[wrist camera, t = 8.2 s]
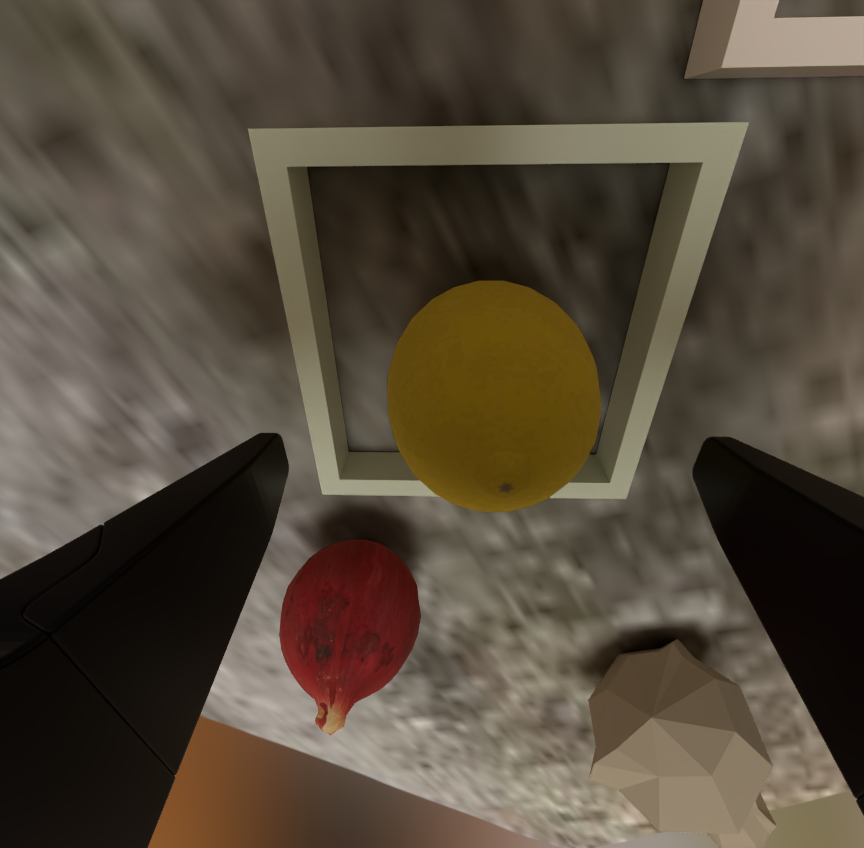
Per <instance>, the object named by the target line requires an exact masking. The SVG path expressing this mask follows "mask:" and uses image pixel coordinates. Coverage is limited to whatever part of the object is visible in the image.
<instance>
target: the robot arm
mask: <svg viewBox="0 0 864 848" xmlns="http://www.w3.org/2000/svg"><path fill="white" fill-rule="evenodd" d="M288 472H289V464H288V459H287V455H286V451H285V447H284V443H283V440H282V437H281V435H279V434H278V433H259V434H257V435H255V436H254V437H252V438H250V439H249V440H247V441H245V442H243V443H242V444H240V445H238V446H236V447H235V448H233V449H231V450H229V451H228V452H226V453H224V454H222V455H221V456H219V457H217V458H216V459H214V460H212V461H210V462H209V463H207V464H205V465H203V466H202V467H200V468H198V469H196V470H195V471H193V472H191V473H189V474H188V475H186V476H184V477H182V478H181V479H179V480H177V481H176V482H174V483H172V484H170V485H169V486H167V487H165V488H163V489H162V490H160V491H158V492H156V493H155V494H153V495H151V496H149V497H148V498H146V499H144V500H142V501H141V502H139V503H137V504H136V505H134V506H132V507H130V508H129V509H127V510H125V511H123V512H122V513H120V514H118V515H116V516H115V517H113V518H111V519H109V520H108V521H106V522H105V523H104V526H103V525H99V526H97V527H95V528H94V529H92V530H90V531H88V532H87V533H85V534H83V535H82V536H80V537H78V538H76V539H74V540H73V541H71V542H69V543H67V544H65V545H64V546H62V547H60V548H58V549H57V550H55V551H53V552H51V553H49V554H48V555H46V556H44V557H42V558H40V559H38V560H36V561H34V562H32V563H30V564H29V565H27V566H25V567H23V568H21V569H19V570H17V571H15V572H13V573H11V574H9V575H7V576H6V577H4V578H2V579H0V848H148V845H149V843H150V840H151V838H152V835H153V833H154V830H155V828H156V825H157V823H158V820H159V818H160V815H161V813H162V810H163V808H164V805H165V803H166V800H167V798H168V795H169V793H170V790H171V788H172V785H173V783H174V780H175V776H174V775H176V774H177V772H178V769H179V767H180V764H181V762H182V759H183V757H184V754H185V752H186V749H187V747H188V744H189V742H190V739H191V737H192V734H193V732H194V729H195V727H196V724H197V722H198V719H199V717H200V714H201V712H202V709H203V707H204V704H205V702H206V699H207V697H208V694H209V692H210V689H211V686H212V684H213V681H214V679H215V676H216V674H217V671H218V669H219V666H220V664H221V661H222V659H223V656H224V654H225V651H226V649H227V646H228V644H229V641H230V639H231V636H232V634H233V631H234V629H235V626H236V624H237V621H238V619H239V616H240V614H241V611H242V609H243V606H244V604H245V601H246V599H247V596H248V594H249V591H250V589H251V586H252V584H253V581H254V579H255V576H256V574H257V571H258V569H259V566H260V564H261V561H262V558H263V556H264V553H265V551H266V548H267V546H268V543H269V541H270V538H271V535H272V532H273V529H274V525H275V522H276V518H277V514H278V511H279V507H280V503H281V499H282V495H283V492H284V488H285V484H286V480H287V477H288ZM692 472H693V479H694V482H695V484H696V487H697V489H698V492H699V494H700V497H701V500H702V502H703V505H704V507H705V510H706V512H707V515H708V517H709V520H710V522H711V525H712V527H713V530H714V532H715V534H716V537H717V539H718V541H719V543H720V545H721V547H722V549H723V551H724V553H725V555H726V557H727V559H728V561H729V563H730V564H731V566H732V568H733V570H734V572H735V574H736V576H737V578H738V580H739V581H740V583H741V585H742V587H743V589H744V591H745V593H746V595H747V596H748V598H749V600H750V602H751V604H752V606H753V608H754V610H755V611H756V613H757V615H758V617H759V619H760V621H761V623H762V625H763V627H764V628H765V630H766V632H767V634H768V636H769V638H770V640H771V642H772V643H773V645H774V647H775V649H776V651H777V653H778V655H779V657H780V658H781V660H782V662H783V664H784V666H785V668H786V670H787V672H788V674H789V675H790V677H791V679H792V681H793V683H794V685H795V687H796V689H797V690H798V692H799V694H800V696H801V698H802V700H803V702H804V704H805V705H806V707H807V709H808V711H809V713H810V715H811V717H812V719H813V721H814V722H815V724H816V726H817V728H818V730H819V732H820V734H821V736H822V737H823V739H824V741H825V743H826V745H827V747H828V749H829V751H830V752H831V754H832V756H833V758H834V760H835V762H836V764H837V766H838V767H839V769H840V771H841V773H842V775H843V777H844V779H845V781H846V783H847V784H848V786H849V788H850V790H851V792H852V794H853V796H854V797H855V798H857V800H856V801H857V804H858V806H859V808H860V809H861V811H862V813H863V815H864V497H863V496H860V495H858V494H856V493H854V492H851V491H849V490H847V489H845V488H843V487H840V486H838V485H836V484H834V483H831V482H829V481H827V480H825V479H823V478H820V477H818V476H816V475H814V474H811V473H809V472H807V471H805V470H803V469H800V468H798V467H796V466H794V465H792V464H789V463H787V462H785V461H783V460H780V459H778V458H776V457H774V456H772V455H769V454H767V453H765V452H763V451H760V450H758V449H756V448H754V447H752V446H749V445H747V444H745V443H743V442H740V441H738V440H736V439H734V438H731V437H709V438H707V439H706V440H705V441H704V443H703V445H702V447H701V450H700V452H699V454H698V457H697V459H696V462H695V464H694V466H693V471H692Z"/></svg>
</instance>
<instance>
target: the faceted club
mask: <svg viewBox="0 0 864 848" xmlns="http://www.w3.org/2000/svg"><path fill="white" fill-rule="evenodd" d="M588 701H589V707H590V713H591V719H592V725H593V731H594V737H595V743H596V748H595V753H594V758H593V763H592V767H591V772H590V777H589V780H591V781H594V782H597V783H600V784H603V785H606V786H609V787H611V788H614V789H617V790H619V791H620V792H621V793H622V794H623V795H624V796H625V797H626V798H627V799H628V800H629V801H630V802H631V803H632V804H633V805H634V806H635V807H636V808H637V809H638V810H639V811H640V812H641V813H642V814H643V815H644V816H645V817H646V818H647V819H648V820H649V821H650V822H651V823H652V824H653V825H654V826H655V827H656V828H657V829H658V830H659V831H662V832H691V833H707V834H708V836H709V837H710V838H711V839H712V840H713V841H714V842H715V843H716V844H717V846H718V847H719V848H763V846H764V844H765V842H766V840H767V838H768V836H769V834H770V832H772V831H773V830H774V829H775V828H776V827H777V825H776V823H775V822H774V820H773V818H772V816H771V814H770V812H769V810H768V808H767V806H766V804H765V802H764V800H763V798H762V796H761V794H760V791H761V789H762V787H763V785H764V783H765V781H766V779H767V777H768V775H769V773H770V771H771V769H772V767H773V766H772V763H771V761H770V758H769V756H768V753H767V751H766V749H765V746H764V744H763V741H762V739H761V736H760V734H759V732H758V729H757V727H756V724H755V722H754V719H753V717H752V715H751V712H750V710H749V707H748V705H747V703H746V700H745V698H744V695H743V693H742V690H741V688H740V686H738V685H737V684H735V683H733V682H732V681H730V680H729V679H727V678H726V677H724V676H722V675H721V674H719V673H718V672H716V671H715V670H713V669H711V668H710V667H708V666H707V665H705V664H704V663H702V662H700V661H699V660H697V659H696V658H694V657H693V656H692V655H691V653H690V652H689V651H688V650H687V649H686V648H685V646H684V645H683V644H682V643H681V642H680V641H679V640H678V639H676V640H674V641H672V642H670V643H668V644H667V645H665V646H663V647H662V648H658V649H651V650H643V651H636V652H629V653H623V654H619V655H618V656H617V657H616V659H615V660H614V662H613V663H612V665H611V666H610V668H609V669H608V671H607V672H606V674H605V676H604V677H603V679H602V680H601V682H600V683H599V685H598V686H597V688H596V689H595V691H594V692H593V694H592V695H591V697H590V699H589V700H588Z"/></svg>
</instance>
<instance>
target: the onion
mask: <svg viewBox="0 0 864 848" xmlns="http://www.w3.org/2000/svg"><path fill="white" fill-rule="evenodd" d="M420 618H421V614H420V607H419V601H418V590H417V584H416V582H415V580H414V578H413V576H412V574H411V572H410V571H409V569H408V568H407V566H406V565H405V563H404V562H403V560H402V559H401V558H400V557H399V556H397V555H396V554H395V553H394V552H393V551H391V550H390V549H388V548H387V547H385V546H384V545H383V544H380V543H376V542H373V541H369V540H366V539H354V540H344V541H340V542H338V543H335V544H333V545H330V546H328V547H326V548H323V549H321V550H320V551H318V552H317V553H316V554H314V555H313V556H312V557H310V558H309V559H308V561H307V562H306V563H305V564H304V565H303V567H302V568H301V569H300V570H299V571H298V573H297V574H296V576H295V577H294V579H293V580H292V581H291V583H290V584H289V586H288V588H287V592H286V595H285V598H284V601H283V605H282V613H281V621H280V633H279V636H280V643H281V649H282V653H283V656H284V659H285V662H286V663H287V665H288V667H289V669H290V671H291V673H292V675H293V676H294V678H295V679H296V681H297V682H298V683H299V685H300V686H301V687H302V688H303V690H304V691H305V692H307V693H308V694H309V695H310V696H311V697H312V698H314V699H315V701H316V704H317V706H318V711H319V712H318V715H317V717H316V719H315V722H316V725H318V726H319V727H320V729H321V730H322V731H324V732H325V733H327V734H329V735H332V734H333V733H334V732H335V731H336V730H338V729H340V728H342V727H344V723H345V719H346V715H347V713H348V712H349V711H350V709H351V708H352V706H353V705H354V703H356V702H357V701H359V700H361V699H363V698H365V697H367V696H369V695H371V694H373V693H375V692H376V691H378V690H380V689H381V688H383V687H384V686H385V685H386V684H387V683H389V682H390V681H391V680H392V679H393V677H394V676H395V675H396V674H397V673H398V672H399V670H400V669H401V667H402V665H403V664H404V662H405V661H406V659H407V657H408V656H409V654H410V652H411V650H412V649H413V646H414V643H415V640H416V638H417V635H418V631H419V624H420Z"/></svg>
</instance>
